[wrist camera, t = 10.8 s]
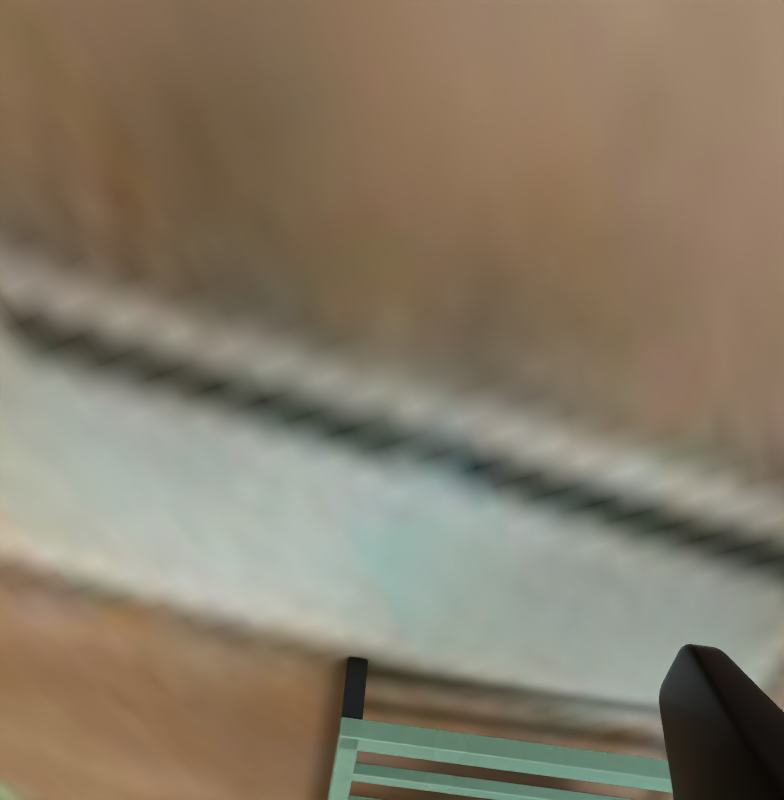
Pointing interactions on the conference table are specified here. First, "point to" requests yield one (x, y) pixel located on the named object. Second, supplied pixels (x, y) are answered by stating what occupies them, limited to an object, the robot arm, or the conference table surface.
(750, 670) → the conference table surface
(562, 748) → the rack
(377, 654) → the conference table surface
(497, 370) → the conference table surface
